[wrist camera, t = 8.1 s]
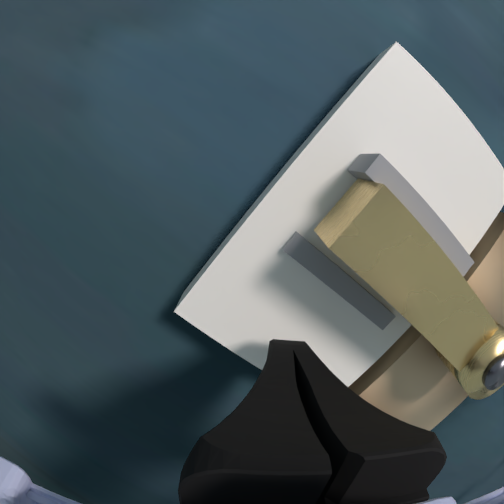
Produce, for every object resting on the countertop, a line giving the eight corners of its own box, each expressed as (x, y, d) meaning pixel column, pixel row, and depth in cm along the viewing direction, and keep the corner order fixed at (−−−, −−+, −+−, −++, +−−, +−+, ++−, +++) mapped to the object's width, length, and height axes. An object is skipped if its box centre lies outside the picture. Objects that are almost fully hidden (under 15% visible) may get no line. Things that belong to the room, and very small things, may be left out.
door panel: (378, 54, 11) (418, 25, 8) (490, 182, 13) (542, 193, 9) (183, 292, 14) (161, 337, 11) (318, 382, 16) (332, 436, 12)
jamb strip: (490, 208, 13) (512, 215, 11) (532, 282, 14) (550, 293, 13) (344, 378, 16) (352, 400, 14) (411, 419, 17) (420, 438, 15)
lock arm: (492, 326, 13) (532, 361, 9) (452, 371, 14) (484, 413, 10) (361, 169, 11) (404, 175, 7) (304, 235, 12) (325, 268, 8)
